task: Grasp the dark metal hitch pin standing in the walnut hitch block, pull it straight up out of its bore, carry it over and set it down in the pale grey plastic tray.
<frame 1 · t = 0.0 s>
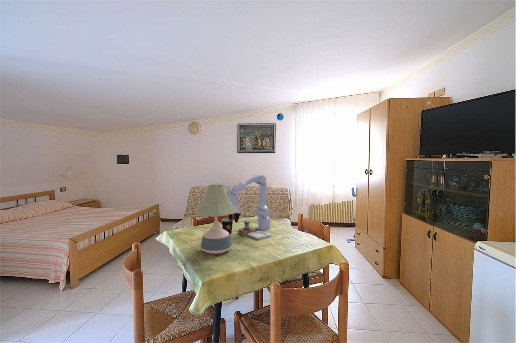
hand: (233, 221, 183), 10 cm above the table, fingers open, 7 cm apart
pin: (246, 227, 187), in the hitch block
hitch block: (246, 233, 187), on the table
desk lamp: (216, 250, 153), on the table
coffee mug: (225, 233, 188), on the table
tray: (259, 236, 180), on the table
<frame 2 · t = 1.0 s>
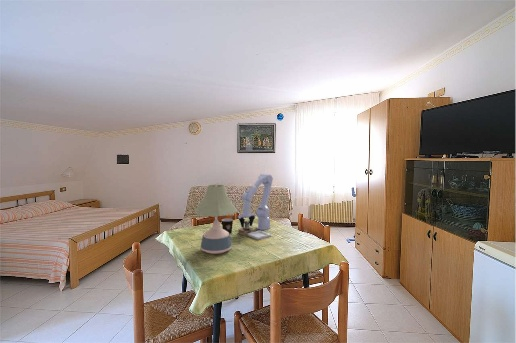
hand: (246, 226, 187), 5 cm above the table, fingers open, 7 cm apart
nothing on the table moved.
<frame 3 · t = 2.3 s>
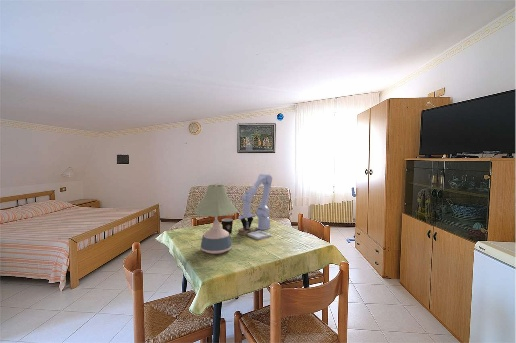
hand: (246, 227, 187), 4 cm above the table, fingers closed on pin, 4 cm apart
pin: (246, 227, 187), in the hitch block, touching gripper
everything else where it was.
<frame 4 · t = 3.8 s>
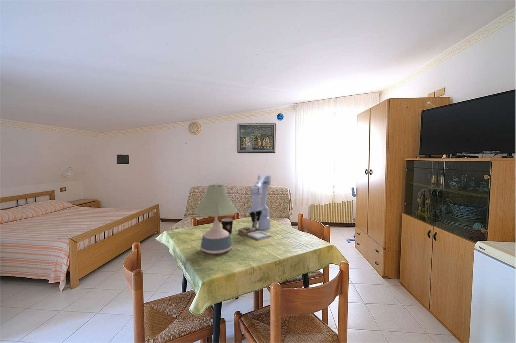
hand: (255, 221, 182), 10 cm above the table, fingers closed on pin, 4 cm apart
pin: (254, 221, 182), point 10 cm above the table, tilted 6°, touching gripper
everything else where it was.
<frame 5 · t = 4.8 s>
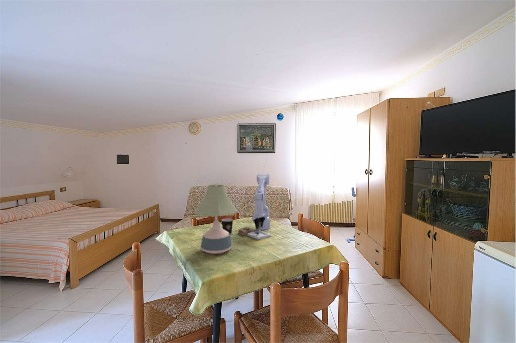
hand: (259, 227, 180), 6 cm above the table, fingers closed on pin, 4 cm apart
pin: (258, 227, 180), point 6 cm above the table, tilted 8°, touching gripper
everything else where it was.
when the fingers open (6 cm above the table, at t = 5.6 s): pin moves 1 cm, resting on tray.
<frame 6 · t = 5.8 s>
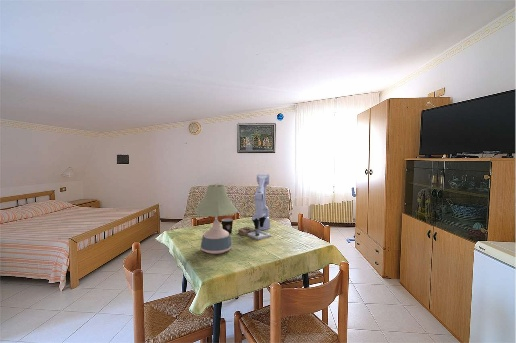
hand: (259, 227, 180), 6 cm above the table, fingers open, 5 cm apart
pin: (257, 228, 181), in the tray, point 5 cm above the table
everything else where it was.
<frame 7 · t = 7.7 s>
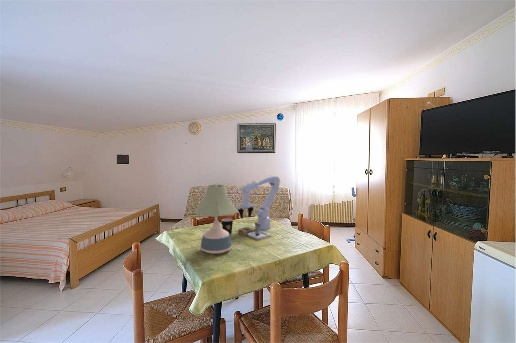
hand: (245, 217, 194), 10 cm above the table, fingers open, 7 cm apart
nothing on the table moved.
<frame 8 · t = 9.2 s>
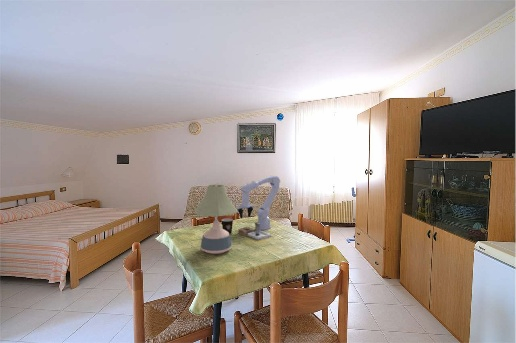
hand: (245, 217, 194), 10 cm above the table, fingers open, 7 cm apart
nothing on the table moved.
at the end: pin inside the target area on the tray (1.2 cm from its centre), point 5.1 cm above the tray's base; pin moved 10.2 cm from its start; the gripper is holding nothing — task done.
